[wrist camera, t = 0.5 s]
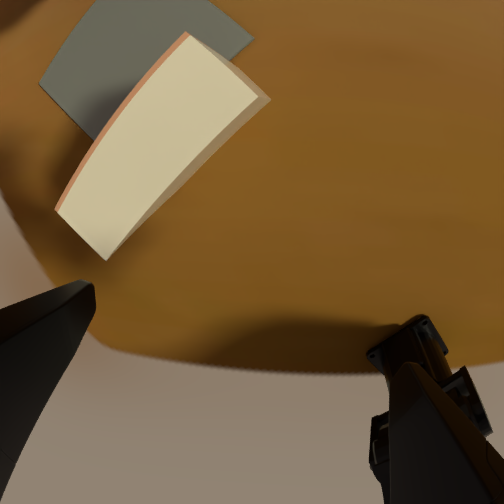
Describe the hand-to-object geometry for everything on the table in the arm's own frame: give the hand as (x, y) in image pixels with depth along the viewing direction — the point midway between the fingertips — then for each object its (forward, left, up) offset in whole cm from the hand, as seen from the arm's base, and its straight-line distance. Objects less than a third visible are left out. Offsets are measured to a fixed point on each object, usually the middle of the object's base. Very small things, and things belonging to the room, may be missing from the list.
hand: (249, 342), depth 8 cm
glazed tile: (+6, 0, -13) cm, 14 cm away
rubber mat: (+13, 0, -13) cm, 19 cm away
